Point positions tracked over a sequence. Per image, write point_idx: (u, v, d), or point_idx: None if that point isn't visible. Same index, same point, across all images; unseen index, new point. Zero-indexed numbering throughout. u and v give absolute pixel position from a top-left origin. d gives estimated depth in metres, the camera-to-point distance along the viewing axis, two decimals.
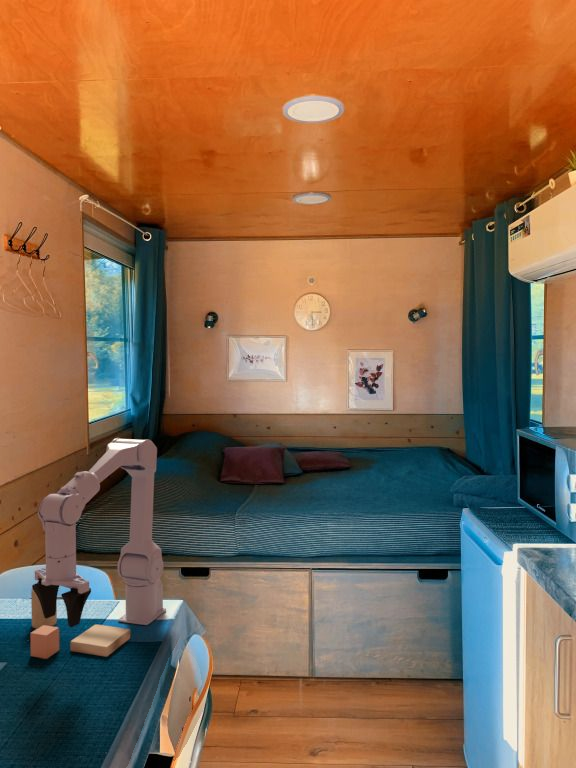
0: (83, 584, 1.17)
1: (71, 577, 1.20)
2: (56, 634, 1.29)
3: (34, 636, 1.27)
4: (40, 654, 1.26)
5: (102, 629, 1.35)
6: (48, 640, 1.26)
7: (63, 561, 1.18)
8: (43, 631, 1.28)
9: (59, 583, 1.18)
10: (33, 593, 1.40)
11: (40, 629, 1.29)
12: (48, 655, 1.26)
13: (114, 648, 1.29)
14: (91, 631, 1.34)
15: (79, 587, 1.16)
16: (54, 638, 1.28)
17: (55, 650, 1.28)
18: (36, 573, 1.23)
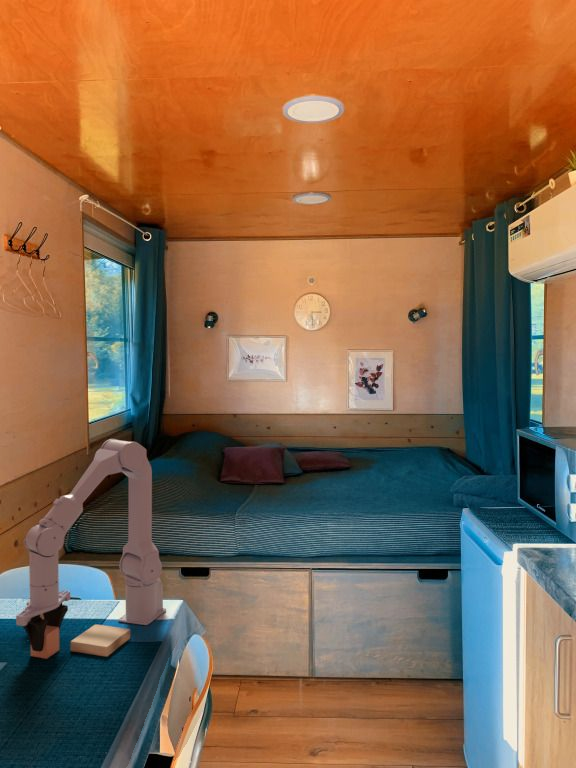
0: (18, 617, 1.21)
1: (36, 607, 1.25)
2: (56, 634, 1.29)
3: None
4: (40, 654, 1.26)
5: (102, 629, 1.35)
6: (48, 640, 1.26)
7: (30, 589, 1.26)
8: None
9: None
10: None
11: None
12: (48, 655, 1.26)
13: (114, 648, 1.29)
14: (91, 631, 1.34)
15: None
16: (54, 638, 1.28)
17: (55, 650, 1.28)
18: None
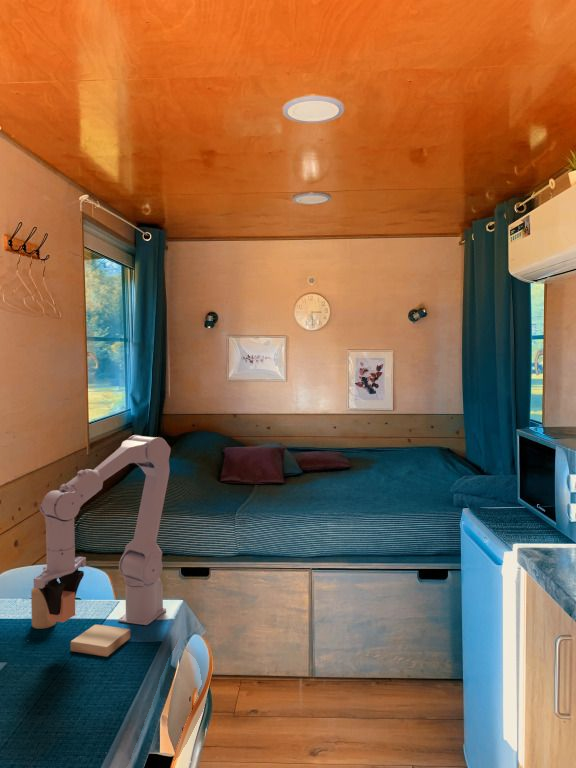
0: (35, 580, 1.22)
1: (52, 571, 1.26)
2: (72, 599, 1.30)
3: None
4: (57, 618, 1.27)
5: (102, 629, 1.35)
6: (65, 604, 1.27)
7: (47, 553, 1.27)
8: None
9: None
10: (33, 593, 1.40)
11: None
12: (64, 619, 1.27)
13: (114, 648, 1.29)
14: (91, 631, 1.34)
15: None
16: (70, 602, 1.29)
17: (71, 614, 1.29)
18: None
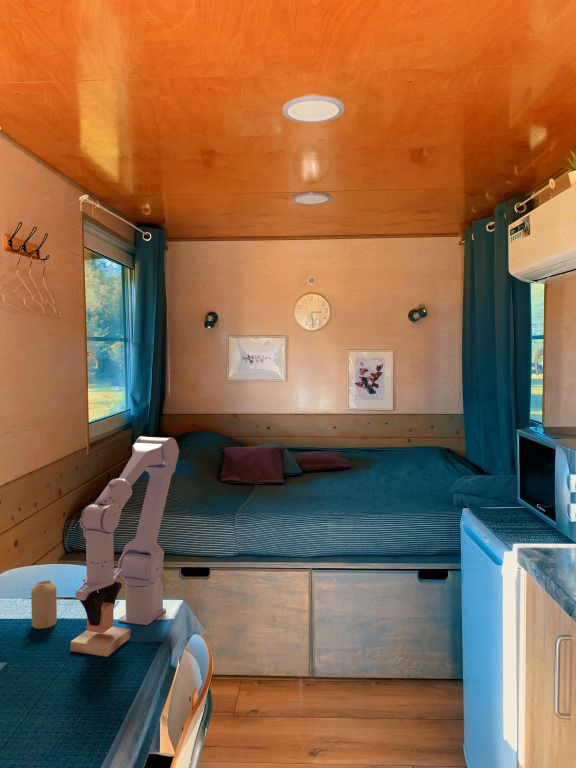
0: (78, 592, 1.25)
1: (93, 583, 1.29)
2: (111, 610, 1.33)
3: None
4: (96, 629, 1.30)
5: None
6: (104, 615, 1.30)
7: (88, 565, 1.30)
8: None
9: None
10: (33, 593, 1.40)
11: None
12: (104, 630, 1.30)
13: (114, 648, 1.29)
14: None
15: None
16: (109, 614, 1.32)
17: (110, 625, 1.32)
18: None
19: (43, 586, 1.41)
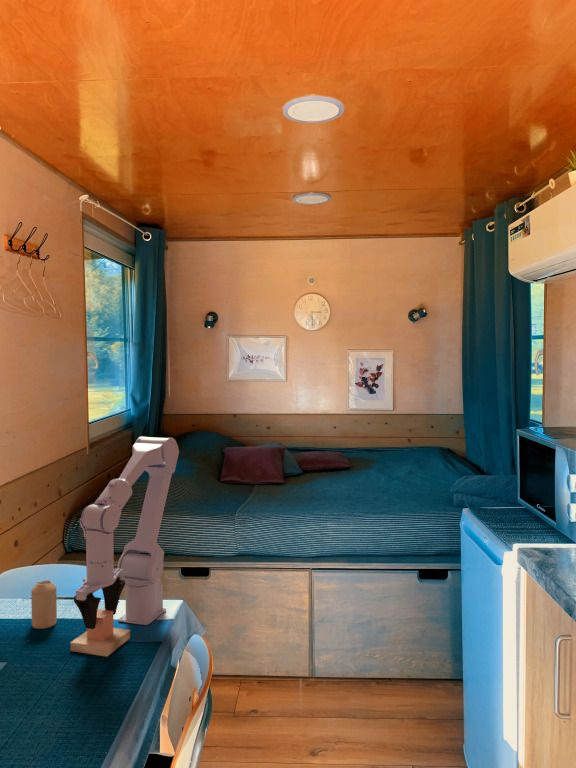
0: (78, 592, 1.25)
1: (93, 583, 1.29)
2: (111, 617, 1.33)
3: None
4: (96, 636, 1.30)
5: None
6: (104, 623, 1.30)
7: (88, 565, 1.30)
8: (99, 614, 1.32)
9: None
10: (33, 593, 1.40)
11: None
12: (104, 637, 1.30)
13: (114, 649, 1.29)
14: None
15: None
16: (109, 621, 1.32)
17: (110, 633, 1.32)
18: None
19: (43, 586, 1.41)
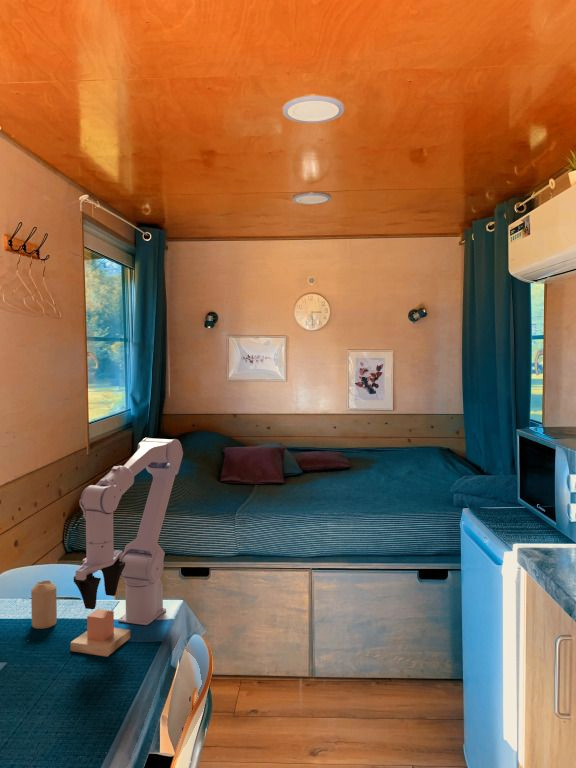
0: (77, 571, 1.25)
1: (93, 563, 1.29)
2: (111, 617, 1.33)
3: (91, 619, 1.31)
4: (97, 636, 1.30)
5: None
6: (105, 623, 1.30)
7: (87, 546, 1.30)
8: (99, 614, 1.32)
9: None
10: (33, 593, 1.40)
11: (95, 612, 1.32)
12: (104, 637, 1.30)
13: (114, 649, 1.30)
14: None
15: None
16: (109, 621, 1.32)
17: (110, 633, 1.32)
18: None
19: (43, 586, 1.41)
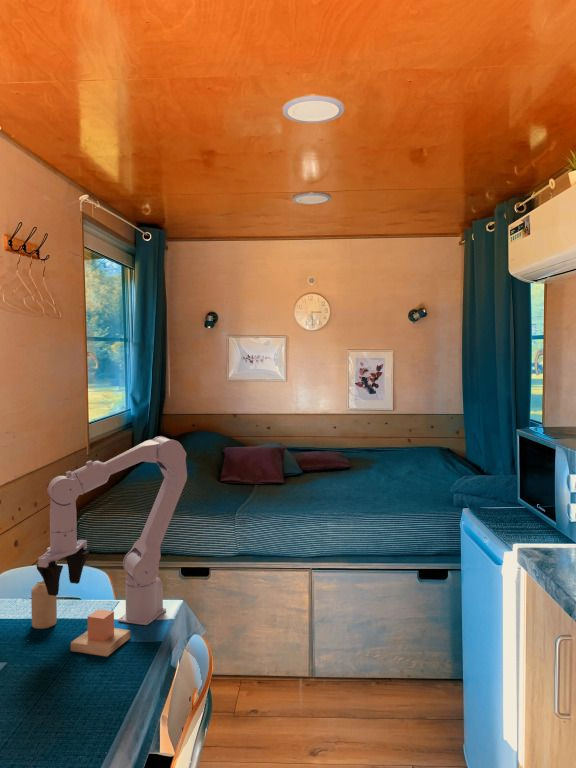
0: (40, 559, 1.30)
1: (56, 552, 1.34)
2: (111, 618, 1.33)
3: (91, 620, 1.30)
4: (97, 637, 1.30)
5: None
6: (105, 623, 1.30)
7: (51, 535, 1.35)
8: (99, 614, 1.32)
9: None
10: (33, 593, 1.40)
11: (96, 613, 1.32)
12: (105, 638, 1.30)
13: (114, 649, 1.30)
14: None
15: None
16: (110, 622, 1.32)
17: (110, 633, 1.32)
18: None
19: (43, 586, 1.41)
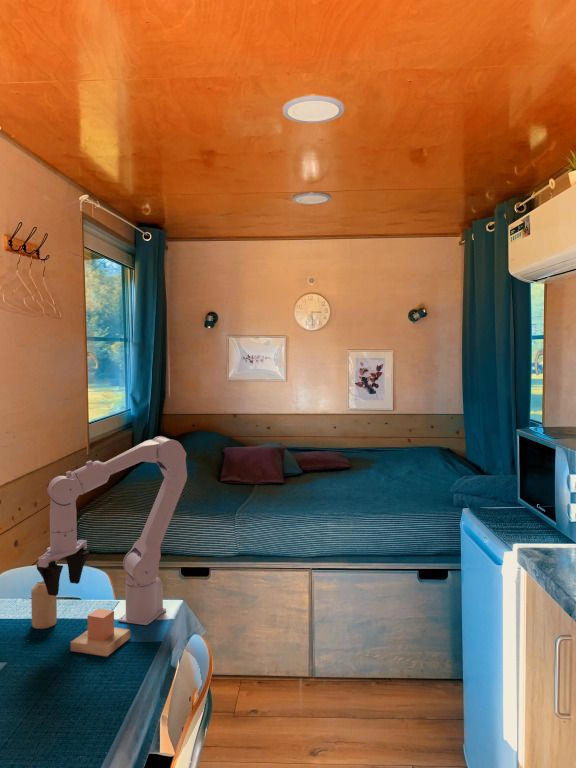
0: (40, 559, 1.30)
1: (56, 552, 1.34)
2: (112, 617, 1.33)
3: (91, 619, 1.31)
4: (97, 636, 1.30)
5: None
6: (105, 623, 1.30)
7: (51, 535, 1.35)
8: (99, 614, 1.32)
9: None
10: (33, 593, 1.40)
11: (96, 612, 1.33)
12: (105, 637, 1.30)
13: (114, 648, 1.30)
14: None
15: None
16: (110, 621, 1.32)
17: (110, 633, 1.32)
18: None
19: (43, 586, 1.41)
